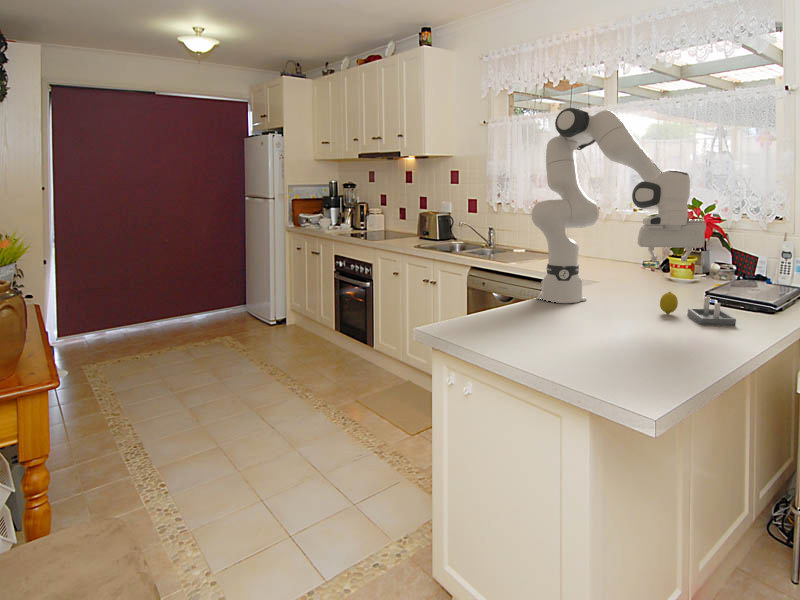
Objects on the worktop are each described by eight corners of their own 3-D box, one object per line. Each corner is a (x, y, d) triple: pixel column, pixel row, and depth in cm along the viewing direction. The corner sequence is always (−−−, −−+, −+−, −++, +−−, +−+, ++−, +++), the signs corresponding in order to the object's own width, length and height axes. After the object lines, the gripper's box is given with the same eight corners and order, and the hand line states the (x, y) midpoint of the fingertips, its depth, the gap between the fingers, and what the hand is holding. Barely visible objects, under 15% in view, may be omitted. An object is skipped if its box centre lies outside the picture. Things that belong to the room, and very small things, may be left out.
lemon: (660, 315, 190) (662, 293, 188) (657, 312, 195) (659, 290, 193) (678, 316, 188) (680, 293, 187) (674, 312, 194) (676, 290, 192)
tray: (687, 315, 189) (689, 295, 188) (719, 316, 188) (721, 296, 186) (700, 325, 176) (702, 304, 175) (735, 326, 174) (737, 305, 173)
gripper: (703, 219, 184) (699, 260, 187) (638, 219, 188) (635, 259, 191) (709, 219, 178) (705, 262, 180) (642, 219, 182) (638, 261, 185)
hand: (668, 261), depth 186 cm, fingers open, 8 cm apart
